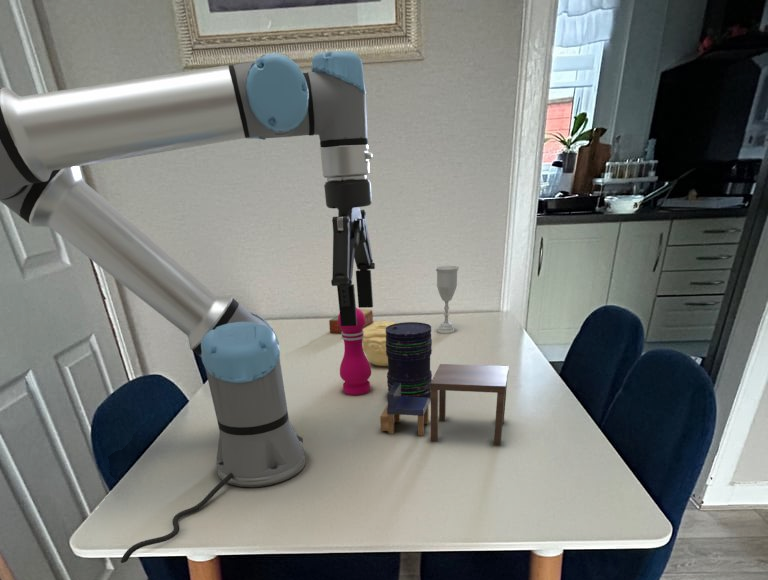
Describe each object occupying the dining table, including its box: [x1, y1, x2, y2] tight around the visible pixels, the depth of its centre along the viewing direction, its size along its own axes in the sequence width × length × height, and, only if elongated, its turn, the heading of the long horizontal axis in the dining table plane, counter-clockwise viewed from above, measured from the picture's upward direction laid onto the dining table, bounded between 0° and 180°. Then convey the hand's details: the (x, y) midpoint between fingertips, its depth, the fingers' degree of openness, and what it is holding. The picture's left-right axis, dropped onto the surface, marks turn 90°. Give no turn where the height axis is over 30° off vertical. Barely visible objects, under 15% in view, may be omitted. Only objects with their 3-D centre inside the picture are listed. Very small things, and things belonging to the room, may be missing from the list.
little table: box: [430, 363, 510, 447], centre depth 101 cm, size 11×13×11 cm
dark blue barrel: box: [386, 321, 433, 400], centre depth 117 cm, size 10×10×15 cm
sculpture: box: [362, 320, 397, 367], centre depth 139 cm, size 12×12×11 cm
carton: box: [328, 308, 374, 335], centre depth 174 cm, size 8×16×4 cm, turn 158°
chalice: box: [435, 265, 460, 334], centre depth 161 cm, size 7×7×18 cm
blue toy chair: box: [379, 383, 430, 436], centre depth 104 cm, size 8×6×8 cm
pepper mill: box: [337, 307, 372, 396], centre depth 120 cm, size 7×7×20 cm
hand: (358, 316), depth 98 cm, fingers open, 13 cm apart
